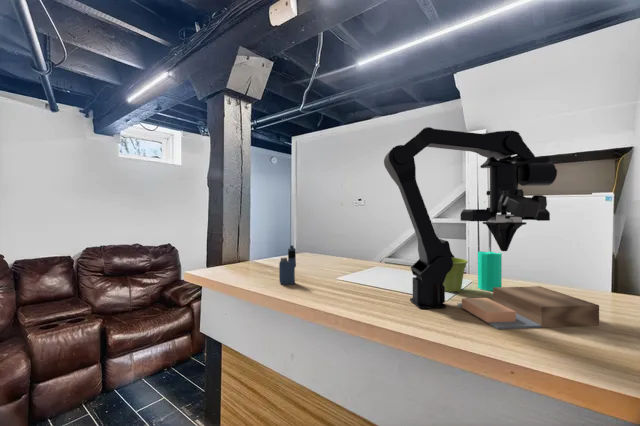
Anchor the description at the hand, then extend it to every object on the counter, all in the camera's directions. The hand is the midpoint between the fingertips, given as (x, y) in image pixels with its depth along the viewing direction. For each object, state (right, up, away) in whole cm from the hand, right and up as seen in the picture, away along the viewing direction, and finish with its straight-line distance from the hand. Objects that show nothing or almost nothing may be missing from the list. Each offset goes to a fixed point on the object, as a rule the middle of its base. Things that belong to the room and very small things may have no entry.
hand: (503, 251), depth 68 cm
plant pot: (-7, -13, +14) cm, 20 cm away
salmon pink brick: (-8, -11, -7) cm, 15 cm away
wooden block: (+4, -13, -6) cm, 15 cm away
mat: (-6, -13, -6) cm, 16 cm away
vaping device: (-54, -13, +22) cm, 60 cm away
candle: (+5, -13, +14) cm, 20 cm away
